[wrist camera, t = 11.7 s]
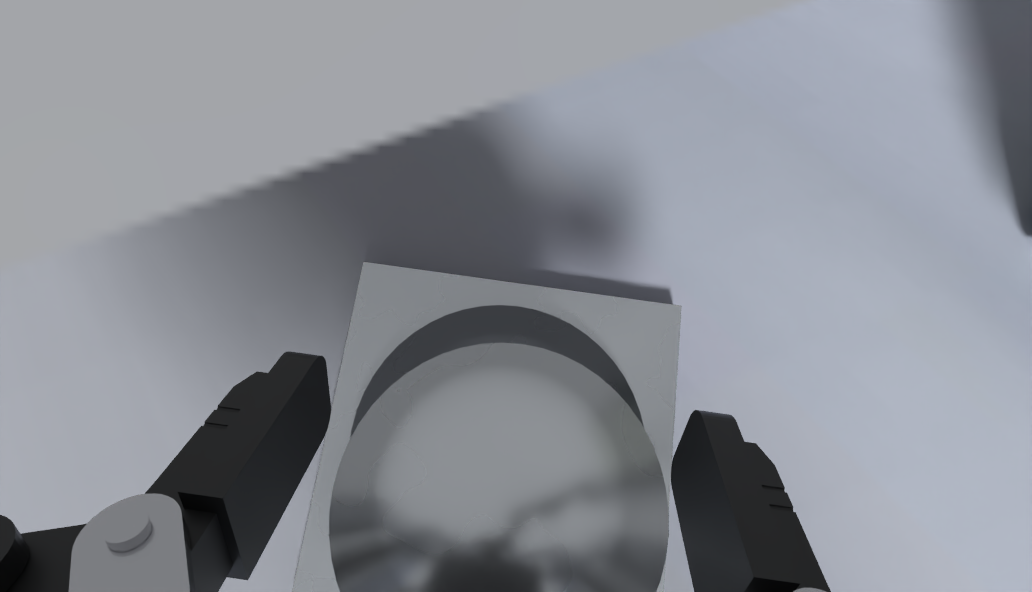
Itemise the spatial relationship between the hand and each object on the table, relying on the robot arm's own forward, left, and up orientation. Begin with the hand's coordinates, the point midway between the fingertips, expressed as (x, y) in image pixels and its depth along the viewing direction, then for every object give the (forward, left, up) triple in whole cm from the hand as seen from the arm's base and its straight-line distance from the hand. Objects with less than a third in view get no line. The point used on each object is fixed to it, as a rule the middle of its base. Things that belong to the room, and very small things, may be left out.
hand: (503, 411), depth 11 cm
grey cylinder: (0, +1, -6) cm, 6 cm away
